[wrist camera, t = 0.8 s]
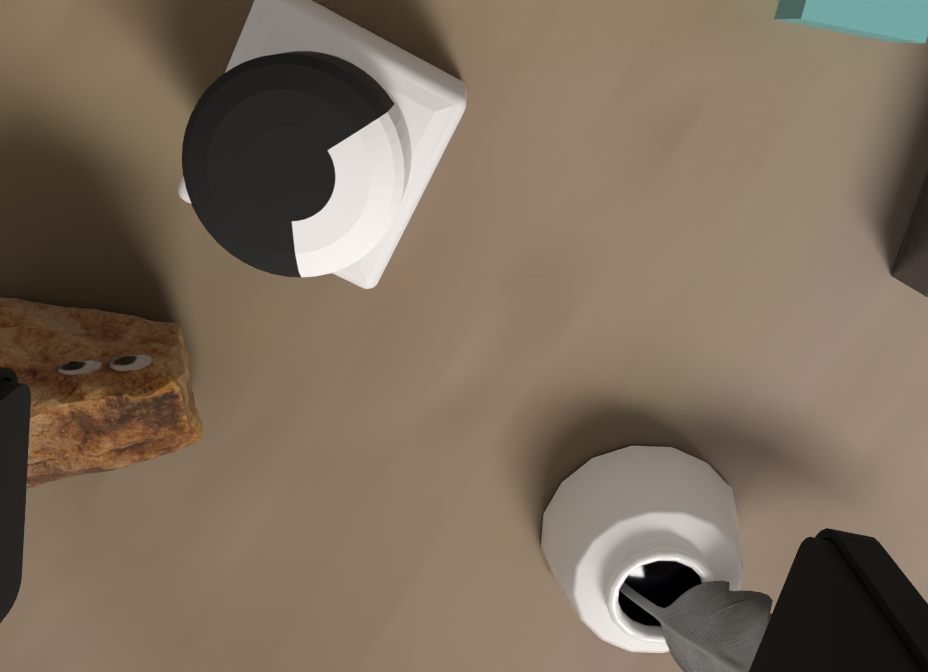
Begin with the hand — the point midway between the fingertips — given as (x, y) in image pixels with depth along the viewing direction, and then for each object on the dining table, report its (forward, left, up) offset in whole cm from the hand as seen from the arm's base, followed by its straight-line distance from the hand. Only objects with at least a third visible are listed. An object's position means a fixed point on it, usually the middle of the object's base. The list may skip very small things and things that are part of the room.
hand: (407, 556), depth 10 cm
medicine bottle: (-1, -4, -26) cm, 27 cm away
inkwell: (+15, +16, -26) cm, 34 cm away
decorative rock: (+10, -13, -26) cm, 31 cm away
